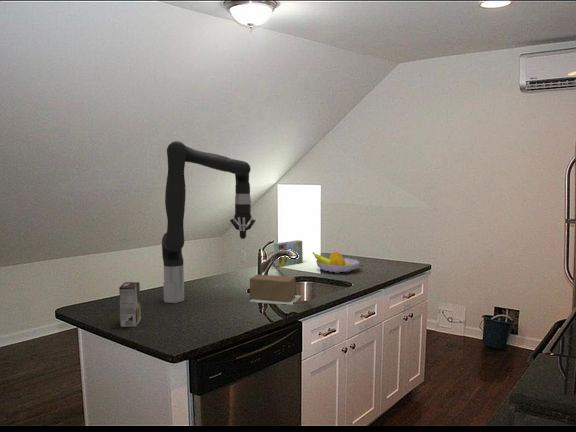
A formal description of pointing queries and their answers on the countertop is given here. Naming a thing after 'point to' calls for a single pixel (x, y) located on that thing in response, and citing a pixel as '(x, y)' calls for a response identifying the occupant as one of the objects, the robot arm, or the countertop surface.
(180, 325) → the countertop surface
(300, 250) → the snack box
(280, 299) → the wooden block
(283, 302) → the felt mat
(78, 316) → the countertop surface
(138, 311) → the coffee box
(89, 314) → the countertop surface
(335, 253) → the fruit bowl
